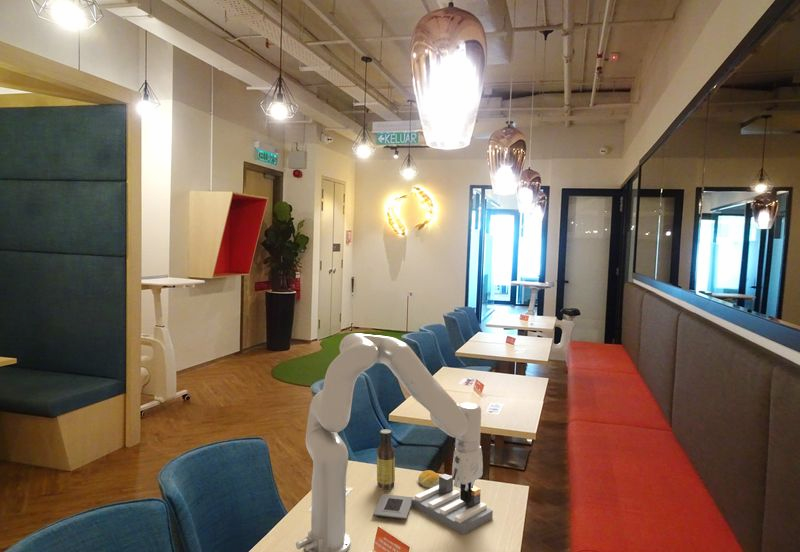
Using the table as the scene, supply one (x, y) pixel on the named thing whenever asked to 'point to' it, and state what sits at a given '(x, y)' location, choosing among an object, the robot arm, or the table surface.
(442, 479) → the on breaker handle
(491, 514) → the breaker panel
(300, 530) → the table surface
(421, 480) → the bread roll
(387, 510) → the grey flat block
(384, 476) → the sauce bottle
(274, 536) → the table surface
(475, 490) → the block
